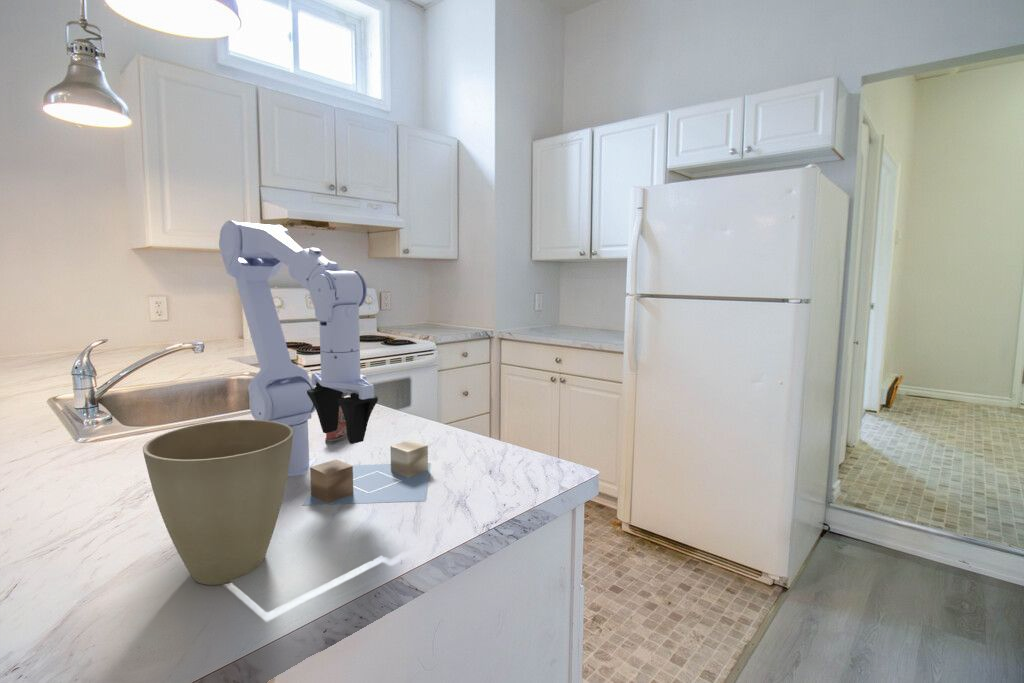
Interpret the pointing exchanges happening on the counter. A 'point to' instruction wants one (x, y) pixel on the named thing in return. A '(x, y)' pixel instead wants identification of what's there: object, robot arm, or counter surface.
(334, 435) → the lighter
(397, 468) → the ash block
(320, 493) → the walnut block
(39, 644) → the counter surface
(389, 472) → the blueprint board
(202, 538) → the plant pot
